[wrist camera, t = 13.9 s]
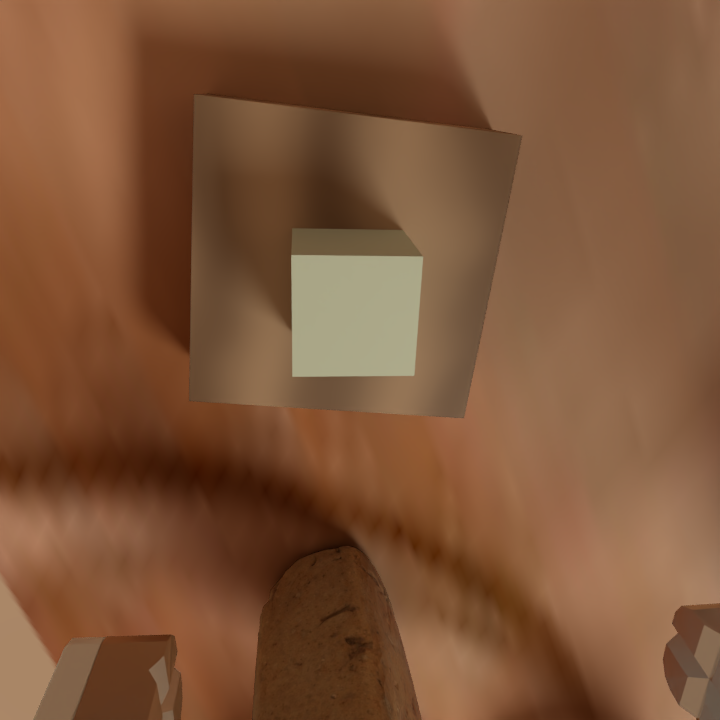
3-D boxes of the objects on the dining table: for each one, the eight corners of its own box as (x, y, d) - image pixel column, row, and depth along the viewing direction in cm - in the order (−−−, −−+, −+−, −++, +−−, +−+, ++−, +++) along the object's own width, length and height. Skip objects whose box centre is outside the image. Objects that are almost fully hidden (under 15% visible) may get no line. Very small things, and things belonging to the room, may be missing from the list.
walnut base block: (489, 129, 32) (522, 135, 27) (443, 377, 37) (464, 418, 33) (209, 93, 30) (193, 94, 25) (203, 360, 35) (188, 401, 31)
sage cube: (402, 229, 28) (423, 256, 24) (396, 333, 30) (414, 376, 26) (292, 228, 28) (291, 255, 23) (293, 333, 30) (292, 376, 25)
